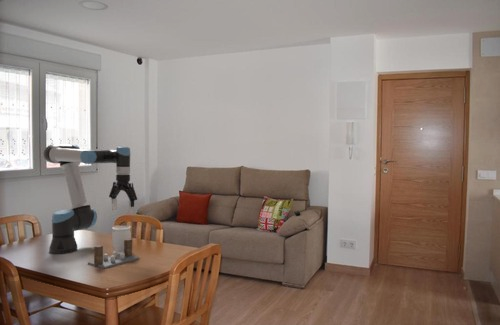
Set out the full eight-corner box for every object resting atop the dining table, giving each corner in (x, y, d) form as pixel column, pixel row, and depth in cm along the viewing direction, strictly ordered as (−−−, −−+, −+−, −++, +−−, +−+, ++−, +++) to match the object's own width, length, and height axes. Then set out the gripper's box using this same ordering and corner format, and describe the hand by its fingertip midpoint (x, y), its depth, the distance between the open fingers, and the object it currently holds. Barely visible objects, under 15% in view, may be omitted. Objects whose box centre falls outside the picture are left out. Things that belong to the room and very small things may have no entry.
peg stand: (87, 264, 216) (87, 256, 216) (122, 255, 235) (121, 248, 234) (104, 268, 209) (104, 260, 208) (138, 258, 227) (138, 251, 227)
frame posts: (94, 265, 213) (94, 246, 213) (128, 256, 232) (128, 238, 231) (97, 266, 212) (97, 247, 211) (132, 257, 230) (132, 239, 229)
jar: (125, 255, 233) (125, 229, 233) (108, 254, 235) (108, 228, 235) (134, 251, 243) (134, 225, 243) (118, 250, 246) (118, 225, 245)
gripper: (102, 173, 239) (102, 209, 240) (133, 175, 227) (133, 214, 228) (113, 172, 246) (113, 208, 247) (143, 175, 233) (143, 212, 234)
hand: (122, 211), depth 237 cm, fingers open, 13 cm apart
